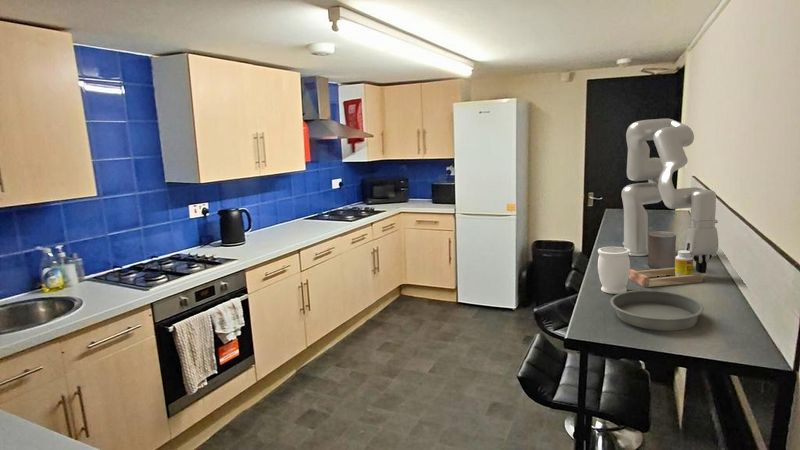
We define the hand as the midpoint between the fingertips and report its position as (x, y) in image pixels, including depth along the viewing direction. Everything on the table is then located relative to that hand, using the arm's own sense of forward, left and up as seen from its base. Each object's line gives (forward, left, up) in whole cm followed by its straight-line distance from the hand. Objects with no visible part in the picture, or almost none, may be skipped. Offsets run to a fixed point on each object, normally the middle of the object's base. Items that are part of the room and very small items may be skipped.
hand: (701, 272), depth 171 cm
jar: (+6, -36, -2) cm, 37 cm away
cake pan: (+31, -36, -2) cm, 48 cm away
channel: (0, -14, -2) cm, 14 cm away
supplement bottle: (0, -7, -2) cm, 7 cm away
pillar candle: (-16, -5, -2) cm, 17 cm away
